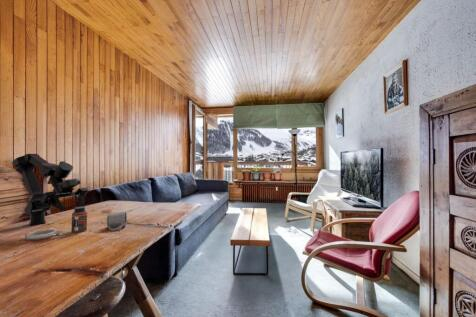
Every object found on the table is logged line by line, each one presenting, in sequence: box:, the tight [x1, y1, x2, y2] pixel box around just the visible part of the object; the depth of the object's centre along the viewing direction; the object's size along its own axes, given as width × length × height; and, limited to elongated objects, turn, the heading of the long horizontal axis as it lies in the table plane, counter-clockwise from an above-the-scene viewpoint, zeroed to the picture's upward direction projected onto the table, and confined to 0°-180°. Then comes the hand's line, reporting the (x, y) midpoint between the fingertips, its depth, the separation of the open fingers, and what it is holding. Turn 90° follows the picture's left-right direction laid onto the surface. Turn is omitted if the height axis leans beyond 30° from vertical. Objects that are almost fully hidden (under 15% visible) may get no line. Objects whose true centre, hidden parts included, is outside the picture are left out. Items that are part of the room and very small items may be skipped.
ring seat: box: [24, 228, 60, 241], centre depth 95 cm, size 11×11×2 cm
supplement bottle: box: [71, 206, 88, 234], centre depth 101 cm, size 6×6×11 cm
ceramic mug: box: [106, 210, 128, 232], centre depth 106 cm, size 11×8×8 cm
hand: (74, 207), depth 103 cm, fingers open, 9 cm apart
